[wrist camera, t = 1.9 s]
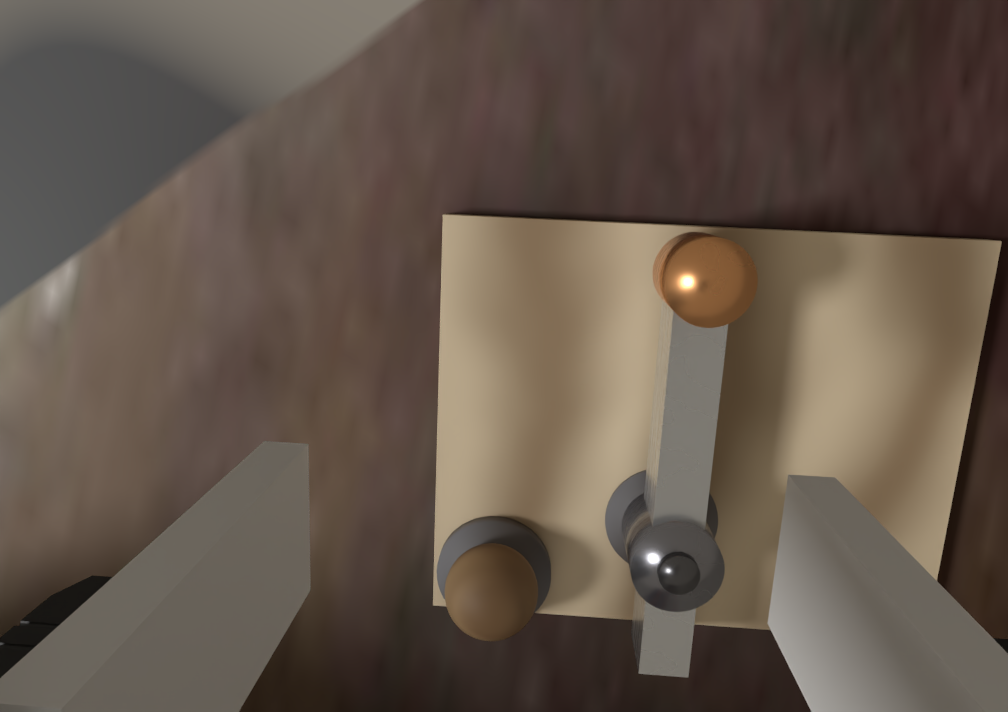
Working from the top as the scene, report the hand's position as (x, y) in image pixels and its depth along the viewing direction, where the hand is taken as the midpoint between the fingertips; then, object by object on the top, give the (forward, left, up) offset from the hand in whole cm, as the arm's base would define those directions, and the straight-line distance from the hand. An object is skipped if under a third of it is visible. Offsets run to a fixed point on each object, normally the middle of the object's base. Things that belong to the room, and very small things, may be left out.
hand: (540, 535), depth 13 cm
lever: (+5, -4, -16) cm, 17 cm away
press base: (+6, -4, -17) cm, 19 cm away
